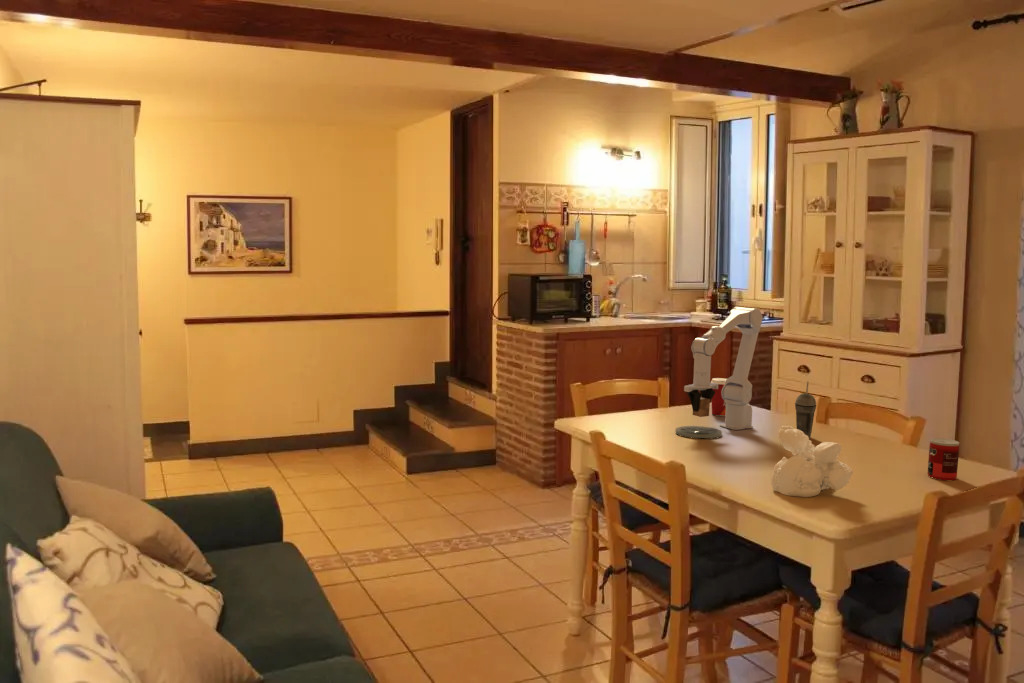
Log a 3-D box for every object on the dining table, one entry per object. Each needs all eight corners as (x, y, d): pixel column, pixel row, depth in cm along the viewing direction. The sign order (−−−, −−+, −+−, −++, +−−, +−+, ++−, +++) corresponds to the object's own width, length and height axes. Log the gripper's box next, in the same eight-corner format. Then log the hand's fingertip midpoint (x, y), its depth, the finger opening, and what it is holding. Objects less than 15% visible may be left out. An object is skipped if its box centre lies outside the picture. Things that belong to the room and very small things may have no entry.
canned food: (931, 472, 275) (933, 436, 273) (959, 477, 270) (962, 441, 268) (923, 477, 269) (926, 440, 267) (953, 482, 264) (956, 445, 262)
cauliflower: (748, 458, 250) (792, 414, 258) (768, 510, 259) (809, 467, 267) (805, 477, 235) (850, 430, 243) (824, 532, 244) (866, 486, 252)
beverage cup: (812, 435, 323) (815, 379, 320) (816, 439, 315) (820, 383, 313) (790, 434, 323) (794, 378, 321) (795, 439, 316) (798, 382, 314)
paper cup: (731, 416, 352) (732, 381, 351) (711, 416, 353) (712, 380, 351) (726, 412, 360) (728, 377, 359) (707, 412, 360) (708, 377, 359)
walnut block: (700, 413, 323) (701, 397, 322) (708, 416, 319) (709, 399, 318) (692, 414, 320) (693, 398, 320) (700, 417, 317) (701, 400, 316)
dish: (699, 427, 332) (699, 424, 332) (731, 436, 319) (731, 432, 318) (666, 431, 323) (666, 428, 323) (697, 440, 310) (697, 437, 310)
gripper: (694, 375, 311) (693, 414, 313) (725, 372, 319) (723, 410, 320) (680, 372, 317) (678, 410, 319) (710, 369, 325) (709, 407, 326)
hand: (700, 410), depth 320 cm, fingers closed on walnut block, 4 cm apart
